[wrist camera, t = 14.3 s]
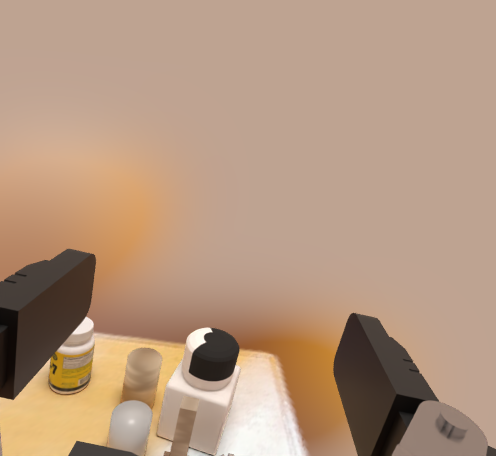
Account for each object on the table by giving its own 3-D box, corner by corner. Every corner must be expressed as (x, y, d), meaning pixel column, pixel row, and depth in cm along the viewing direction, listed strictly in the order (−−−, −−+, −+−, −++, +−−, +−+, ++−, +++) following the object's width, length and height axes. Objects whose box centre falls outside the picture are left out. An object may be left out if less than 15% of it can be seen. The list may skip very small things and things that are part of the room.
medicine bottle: (229, 411, 47) (250, 332, 44) (214, 457, 40) (238, 367, 37) (178, 394, 48) (194, 314, 45) (155, 436, 41) (172, 346, 38)
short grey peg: (99, 465, 36) (104, 426, 35) (114, 433, 40) (120, 396, 39) (138, 474, 37) (145, 435, 35) (149, 440, 40) (156, 404, 39)
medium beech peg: (115, 411, 43) (122, 365, 41) (127, 387, 47) (134, 345, 45) (148, 417, 43) (157, 372, 42) (157, 394, 47) (165, 351, 45)
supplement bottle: (49, 370, 47) (54, 313, 44) (89, 367, 49) (96, 312, 47) (47, 398, 43) (53, 337, 40) (91, 392, 45) (98, 334, 43)
